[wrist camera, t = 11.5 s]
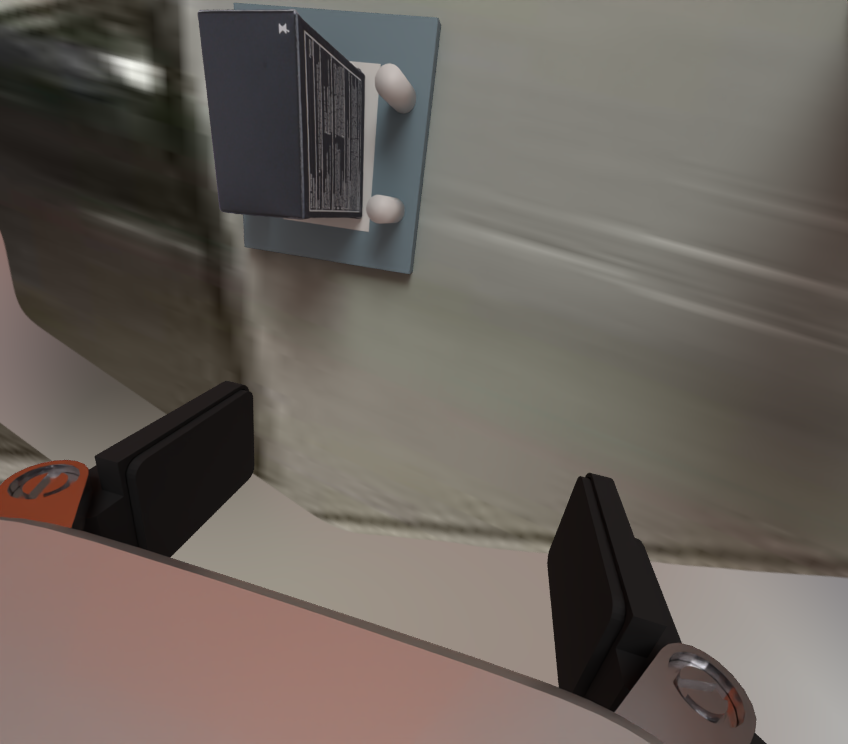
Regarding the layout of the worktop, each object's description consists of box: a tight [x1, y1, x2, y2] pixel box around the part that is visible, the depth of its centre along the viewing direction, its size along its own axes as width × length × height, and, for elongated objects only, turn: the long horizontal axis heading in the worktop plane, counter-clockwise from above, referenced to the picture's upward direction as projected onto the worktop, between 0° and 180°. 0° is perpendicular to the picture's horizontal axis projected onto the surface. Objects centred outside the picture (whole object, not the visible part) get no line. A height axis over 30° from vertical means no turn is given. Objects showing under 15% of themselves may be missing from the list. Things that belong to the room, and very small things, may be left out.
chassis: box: [234, 3, 441, 274], centre depth 31 cm, size 16×18×5 cm
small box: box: [198, 9, 365, 220], centre depth 28 cm, size 11×6×10 cm, turn 176°
